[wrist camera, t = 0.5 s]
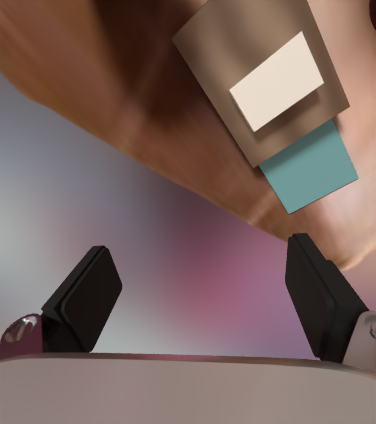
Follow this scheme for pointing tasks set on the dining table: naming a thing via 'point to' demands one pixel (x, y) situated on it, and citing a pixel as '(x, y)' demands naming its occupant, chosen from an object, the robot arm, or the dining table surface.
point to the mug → (373, 12)
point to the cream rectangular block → (277, 83)
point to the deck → (253, 57)
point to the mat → (309, 167)
